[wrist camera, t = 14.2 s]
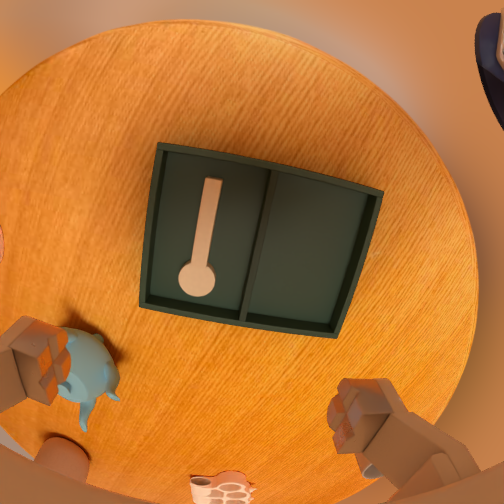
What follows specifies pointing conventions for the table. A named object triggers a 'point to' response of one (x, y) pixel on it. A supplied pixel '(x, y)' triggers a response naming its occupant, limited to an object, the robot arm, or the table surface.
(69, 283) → the table surface
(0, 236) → the tall pillar cylinder
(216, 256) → the tray
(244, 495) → the knuckle duster
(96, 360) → the teapot
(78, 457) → the planter
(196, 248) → the spoon
